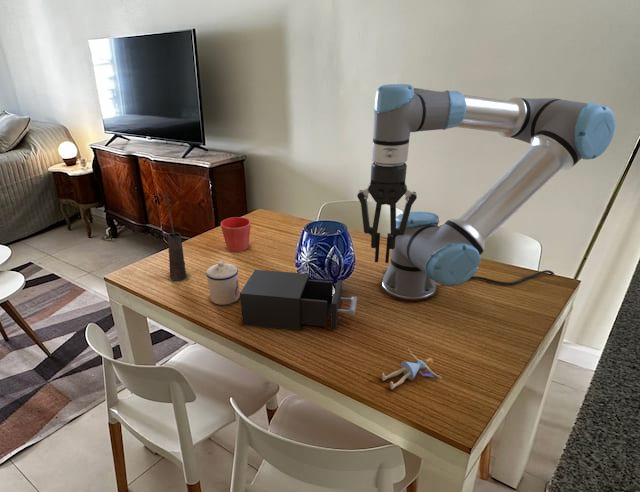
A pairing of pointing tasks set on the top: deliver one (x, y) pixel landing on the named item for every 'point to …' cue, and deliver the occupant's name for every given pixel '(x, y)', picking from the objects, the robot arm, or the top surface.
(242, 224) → the flower pot
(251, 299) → the dark grey box
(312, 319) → the open drawer
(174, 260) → the butter churn
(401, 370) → the fairy figurine
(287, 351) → the top surface
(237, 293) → the teacup with lid
